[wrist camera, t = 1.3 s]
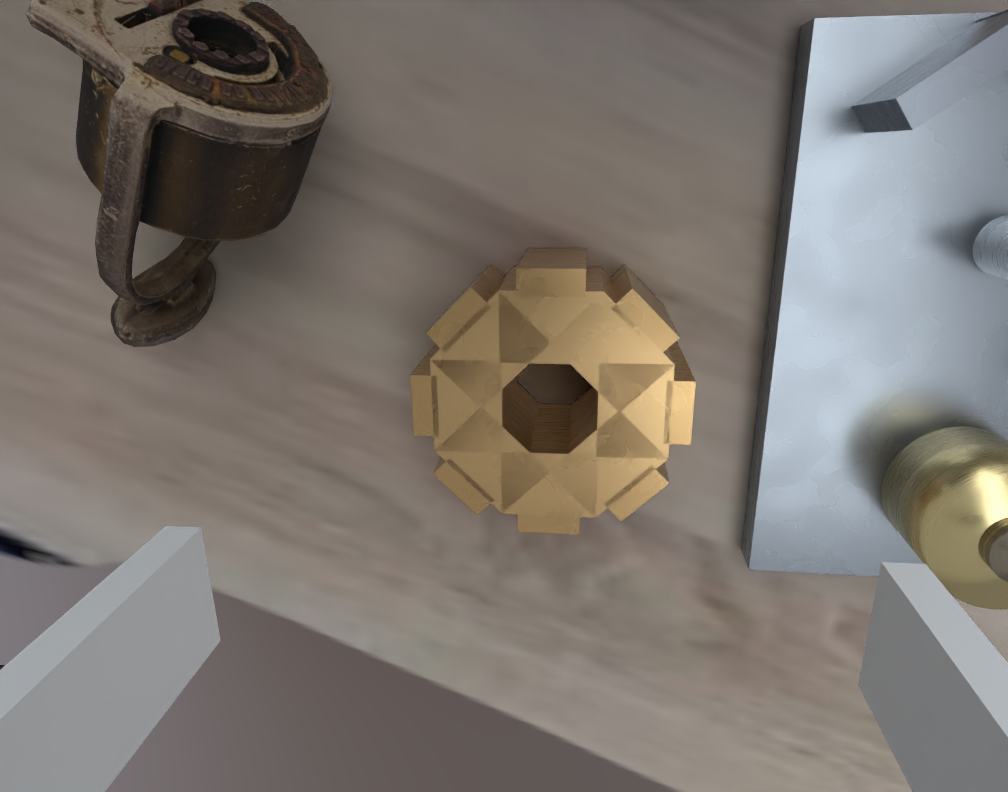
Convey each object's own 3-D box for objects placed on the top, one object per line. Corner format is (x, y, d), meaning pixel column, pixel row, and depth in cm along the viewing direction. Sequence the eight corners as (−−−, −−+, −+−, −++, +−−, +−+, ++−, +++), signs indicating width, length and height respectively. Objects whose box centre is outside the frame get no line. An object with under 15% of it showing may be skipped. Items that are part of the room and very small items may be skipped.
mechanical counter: (402, 40, 25) (288, -29, 15) (326, 366, 29) (202, 467, 20) (210, -24, 25) (-20, -132, 15) (163, 311, 29) (-38, 386, 20)
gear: (435, 247, 27) (403, 267, 22) (683, 248, 26) (704, 269, 21) (445, 468, 30) (419, 527, 26) (667, 476, 29) (683, 539, 24)
